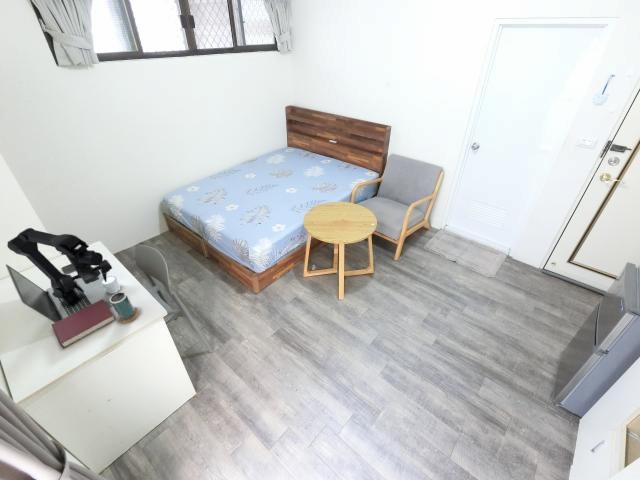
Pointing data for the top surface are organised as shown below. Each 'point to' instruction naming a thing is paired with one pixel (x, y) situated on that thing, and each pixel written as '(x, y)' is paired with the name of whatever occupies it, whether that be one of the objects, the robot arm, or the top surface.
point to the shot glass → (111, 284)
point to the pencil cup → (122, 305)
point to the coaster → (129, 319)
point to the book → (82, 323)
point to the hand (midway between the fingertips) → (95, 286)
